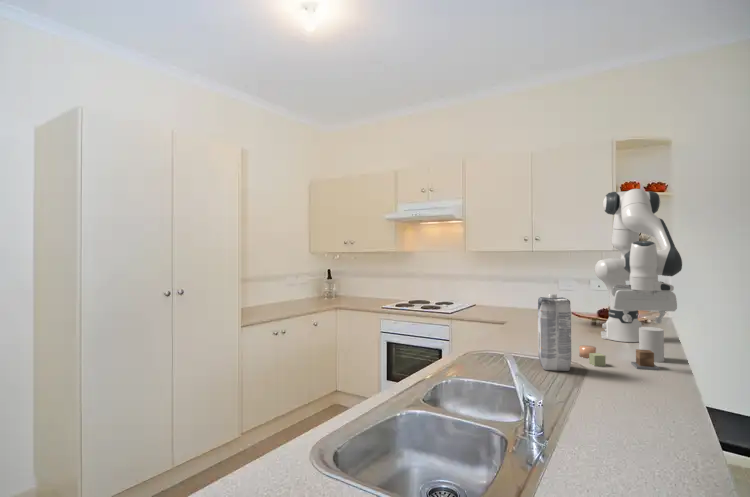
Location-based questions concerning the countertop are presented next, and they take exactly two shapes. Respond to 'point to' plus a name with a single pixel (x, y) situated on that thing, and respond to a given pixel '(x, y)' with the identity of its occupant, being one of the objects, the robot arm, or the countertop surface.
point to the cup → (652, 341)
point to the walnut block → (645, 358)
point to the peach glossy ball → (586, 350)
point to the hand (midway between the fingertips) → (643, 322)
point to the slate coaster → (644, 366)
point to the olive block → (597, 359)
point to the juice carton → (554, 333)
